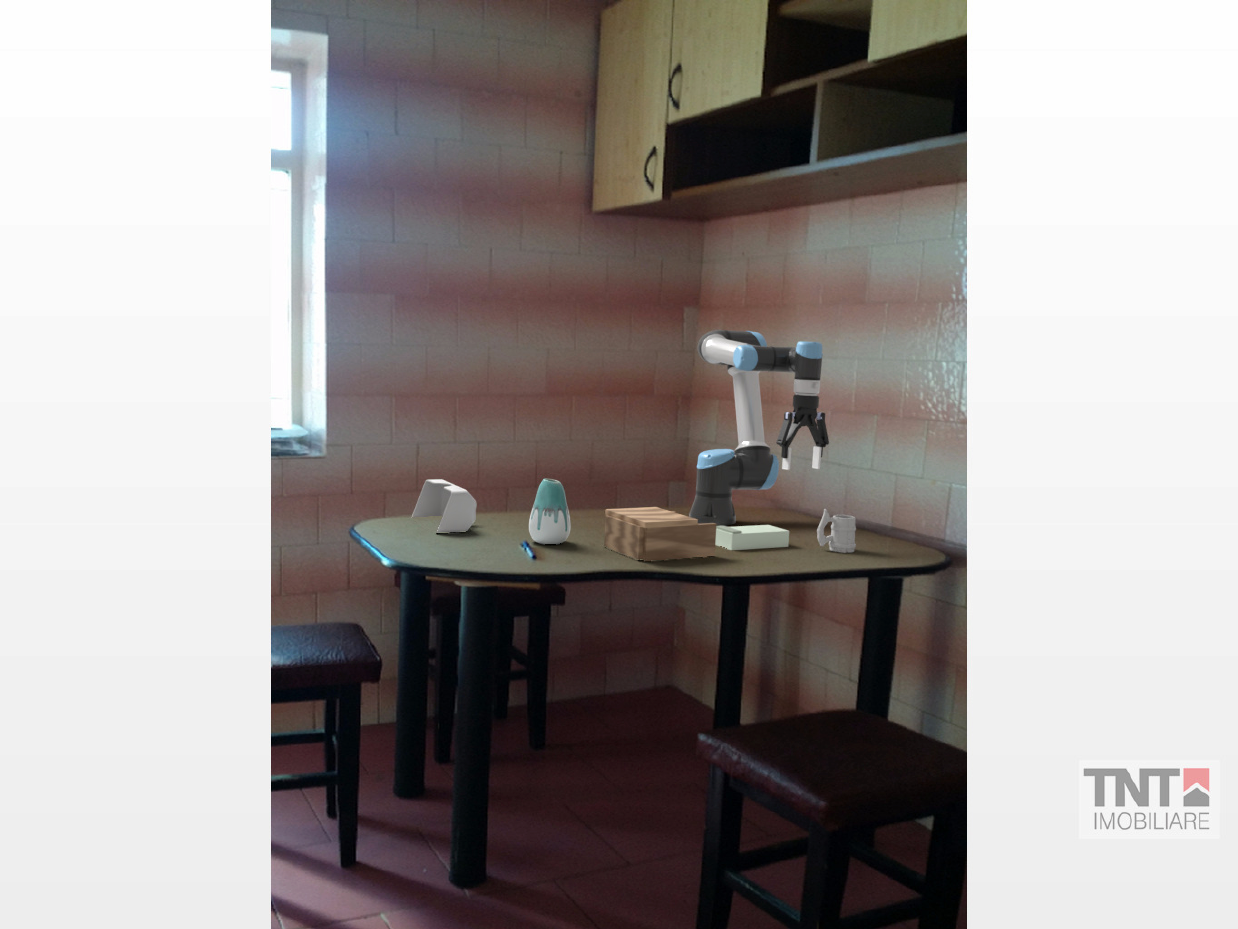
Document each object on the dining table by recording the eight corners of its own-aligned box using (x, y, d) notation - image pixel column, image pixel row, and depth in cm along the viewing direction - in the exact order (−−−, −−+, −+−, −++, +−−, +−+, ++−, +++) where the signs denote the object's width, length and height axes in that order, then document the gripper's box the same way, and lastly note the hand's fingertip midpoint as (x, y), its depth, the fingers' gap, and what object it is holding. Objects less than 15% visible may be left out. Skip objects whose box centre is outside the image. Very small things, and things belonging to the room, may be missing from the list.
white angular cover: (489, 532, 306) (490, 490, 305) (435, 535, 299) (437, 491, 298) (460, 518, 328) (461, 478, 327) (410, 519, 321) (411, 479, 320)
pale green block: (711, 544, 305) (712, 525, 305) (767, 541, 315) (768, 522, 314) (731, 551, 297) (732, 532, 296) (788, 547, 306) (789, 528, 305)
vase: (576, 542, 298) (579, 479, 296) (557, 548, 287) (560, 483, 285) (540, 537, 303) (543, 475, 301) (520, 543, 292) (522, 479, 290)
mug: (860, 553, 301) (863, 511, 300) (821, 553, 299) (824, 511, 297) (848, 547, 309) (851, 507, 307) (810, 547, 306) (813, 506, 305)
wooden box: (601, 546, 293) (603, 509, 291) (672, 542, 305) (674, 506, 303) (640, 562, 275) (642, 522, 274) (714, 556, 287) (716, 518, 285)
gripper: (783, 394, 300) (778, 471, 303) (845, 395, 312) (839, 469, 314) (766, 392, 306) (762, 468, 309) (827, 394, 318) (822, 466, 321)
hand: (801, 468), depth 312 cm, fingers open, 11 cm apart
